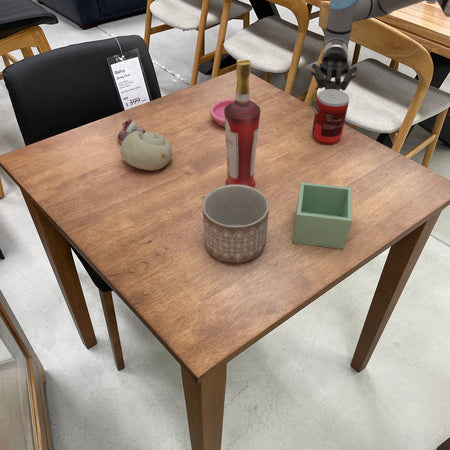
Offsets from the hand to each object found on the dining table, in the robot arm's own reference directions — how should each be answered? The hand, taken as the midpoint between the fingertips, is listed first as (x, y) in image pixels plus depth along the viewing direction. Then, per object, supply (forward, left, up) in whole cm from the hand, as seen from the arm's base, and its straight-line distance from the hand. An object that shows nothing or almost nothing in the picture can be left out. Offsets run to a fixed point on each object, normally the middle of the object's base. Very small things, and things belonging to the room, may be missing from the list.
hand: (331, 97), depth 115 cm
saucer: (+15, +22, -7) cm, 27 cm away
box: (-33, +29, -7) cm, 45 cm away
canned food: (-5, +5, -7) cm, 10 cm away
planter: (-28, +47, -7) cm, 55 cm away
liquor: (-12, +36, -7) cm, 38 cm away
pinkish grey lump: (+20, +50, -7) cm, 54 cm away
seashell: (+8, +51, -7) cm, 52 cm away
